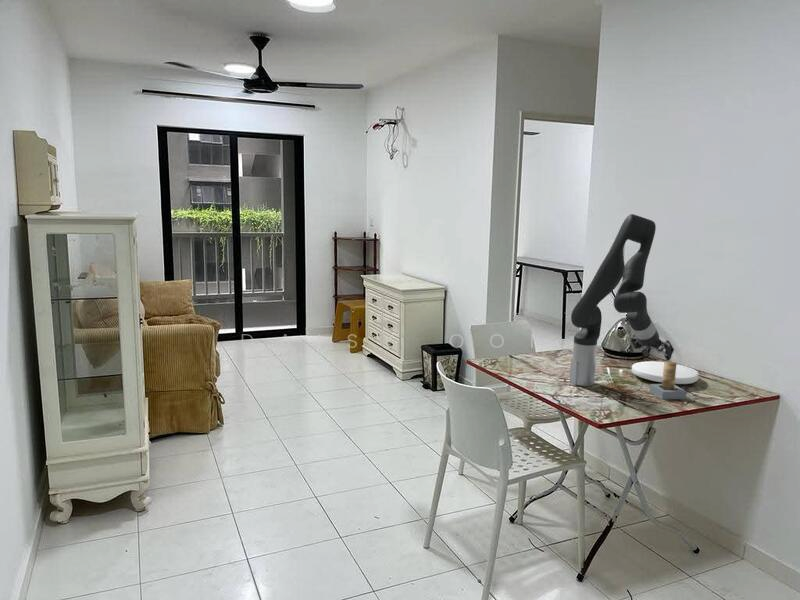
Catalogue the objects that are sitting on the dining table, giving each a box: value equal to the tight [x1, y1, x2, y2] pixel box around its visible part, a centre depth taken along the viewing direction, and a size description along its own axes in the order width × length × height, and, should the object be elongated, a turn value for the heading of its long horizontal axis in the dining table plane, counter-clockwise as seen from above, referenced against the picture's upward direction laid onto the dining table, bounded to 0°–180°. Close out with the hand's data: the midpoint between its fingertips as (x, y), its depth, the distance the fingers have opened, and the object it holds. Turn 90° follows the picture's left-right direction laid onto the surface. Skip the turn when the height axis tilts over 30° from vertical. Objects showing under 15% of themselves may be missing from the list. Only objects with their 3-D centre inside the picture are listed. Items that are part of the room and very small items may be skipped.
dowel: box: [661, 361, 677, 390], centre depth 227 cm, size 4×4×13 cm
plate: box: [631, 360, 700, 385], centre depth 250 cm, size 28×6×27 cm
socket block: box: [649, 383, 687, 400], centre depth 228 cm, size 10×10×3 cm
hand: (657, 356), depth 218 cm, fingers open, 8 cm apart
